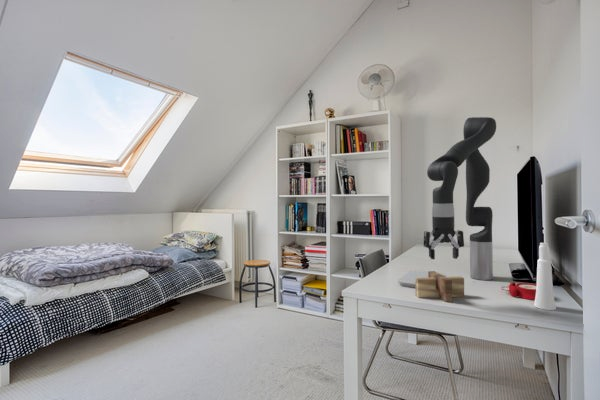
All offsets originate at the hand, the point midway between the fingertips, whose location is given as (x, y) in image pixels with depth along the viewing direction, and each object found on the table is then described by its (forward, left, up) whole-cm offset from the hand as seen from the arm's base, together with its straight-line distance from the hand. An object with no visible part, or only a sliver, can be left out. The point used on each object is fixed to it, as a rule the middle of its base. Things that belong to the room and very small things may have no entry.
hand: (443, 258), depth 120 cm
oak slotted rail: (-4, -2, -15) cm, 16 cm away
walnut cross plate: (-4, -2, -15) cm, 16 cm away
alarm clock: (-17, +27, -16) cm, 36 cm away
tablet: (-24, -11, -16) cm, 31 cm away
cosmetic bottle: (-5, +31, -16) cm, 35 cm away
